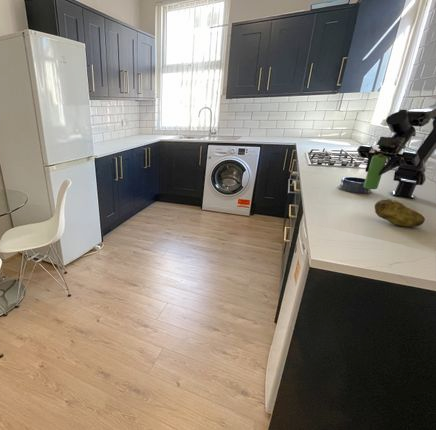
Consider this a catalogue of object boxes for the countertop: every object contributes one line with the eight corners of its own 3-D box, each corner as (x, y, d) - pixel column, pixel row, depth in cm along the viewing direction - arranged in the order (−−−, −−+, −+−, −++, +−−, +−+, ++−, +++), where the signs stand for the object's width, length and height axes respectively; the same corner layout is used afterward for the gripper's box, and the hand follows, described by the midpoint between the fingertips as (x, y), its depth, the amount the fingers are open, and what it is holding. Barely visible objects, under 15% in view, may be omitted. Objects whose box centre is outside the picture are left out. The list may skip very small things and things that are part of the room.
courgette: (363, 184, 118) (373, 152, 112) (377, 186, 115) (388, 153, 109) (362, 188, 115) (372, 155, 109) (377, 189, 113) (388, 156, 106)
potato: (418, 232, 90) (428, 209, 87) (367, 220, 100) (375, 199, 97) (422, 226, 95) (432, 204, 92) (373, 215, 104) (381, 194, 101)
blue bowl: (340, 185, 142) (343, 175, 140) (370, 189, 135) (373, 179, 133) (337, 190, 134) (341, 180, 132) (369, 195, 127) (373, 184, 125)
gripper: (366, 125, 114) (341, 157, 116) (427, 130, 98) (397, 168, 100) (372, 140, 120) (349, 171, 122) (431, 148, 104) (403, 183, 106)
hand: (372, 172), depth 112 cm, fingers closed on courgette, 4 cm apart
